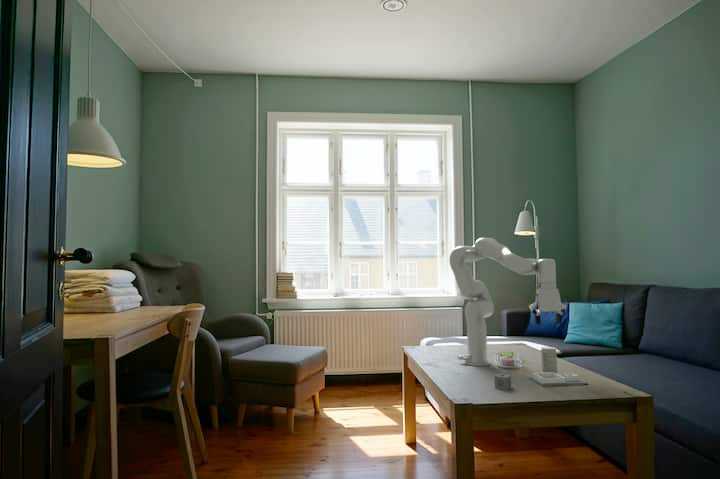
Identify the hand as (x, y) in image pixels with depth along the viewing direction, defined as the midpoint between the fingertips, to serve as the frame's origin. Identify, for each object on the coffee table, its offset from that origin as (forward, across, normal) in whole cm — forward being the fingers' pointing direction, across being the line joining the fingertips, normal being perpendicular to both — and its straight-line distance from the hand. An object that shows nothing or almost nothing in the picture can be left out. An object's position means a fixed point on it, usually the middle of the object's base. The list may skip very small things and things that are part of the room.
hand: (548, 323), depth 210 cm
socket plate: (+23, -2, -11) cm, 26 cm away
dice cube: (+23, -29, -17) cm, 41 cm away
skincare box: (+23, 0, 0) cm, 23 cm away
